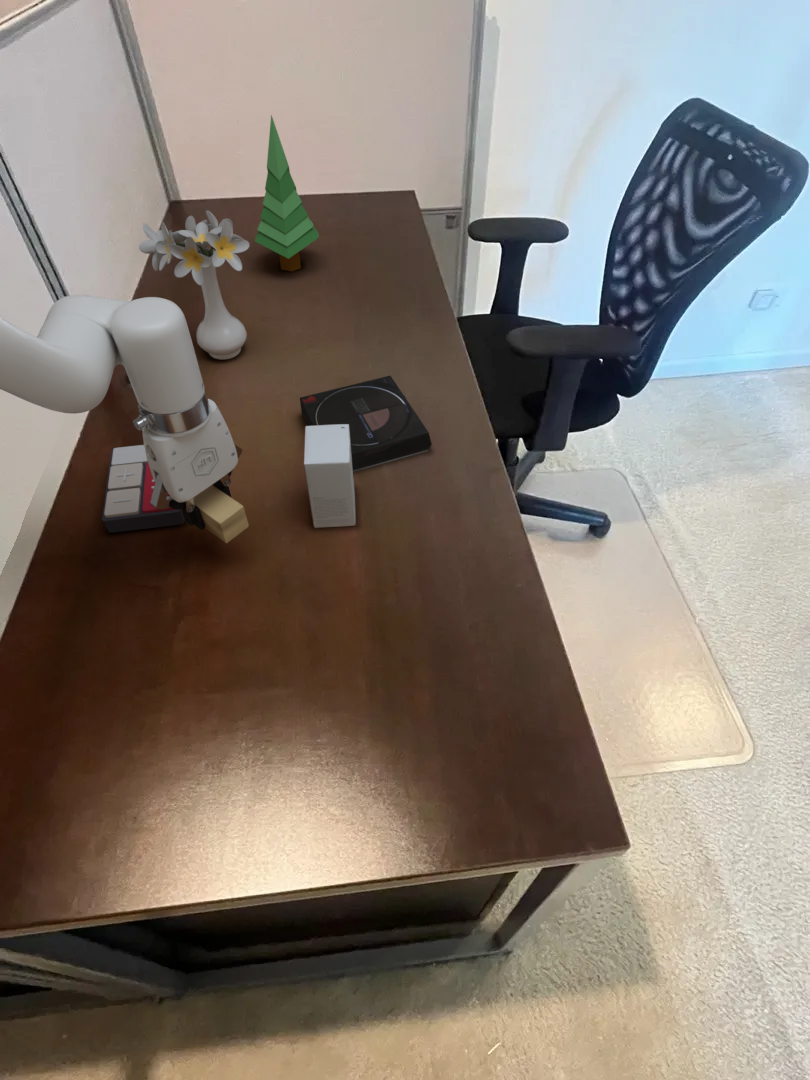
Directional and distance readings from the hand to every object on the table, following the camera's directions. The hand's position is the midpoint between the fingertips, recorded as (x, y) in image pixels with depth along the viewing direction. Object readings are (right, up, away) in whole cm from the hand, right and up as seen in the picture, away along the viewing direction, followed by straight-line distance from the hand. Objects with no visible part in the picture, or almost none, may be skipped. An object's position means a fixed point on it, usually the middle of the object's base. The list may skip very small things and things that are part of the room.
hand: (210, 513), depth 91 cm
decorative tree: (+1, +58, +59) cm, 82 cm away
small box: (+16, +1, +10) cm, 19 cm away
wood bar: (0, 0, 0) cm, 0 cm away
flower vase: (-9, +32, +37) cm, 50 cm away
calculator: (-13, +3, +12) cm, 18 cm away
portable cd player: (+20, +14, +22) cm, 33 cm away
